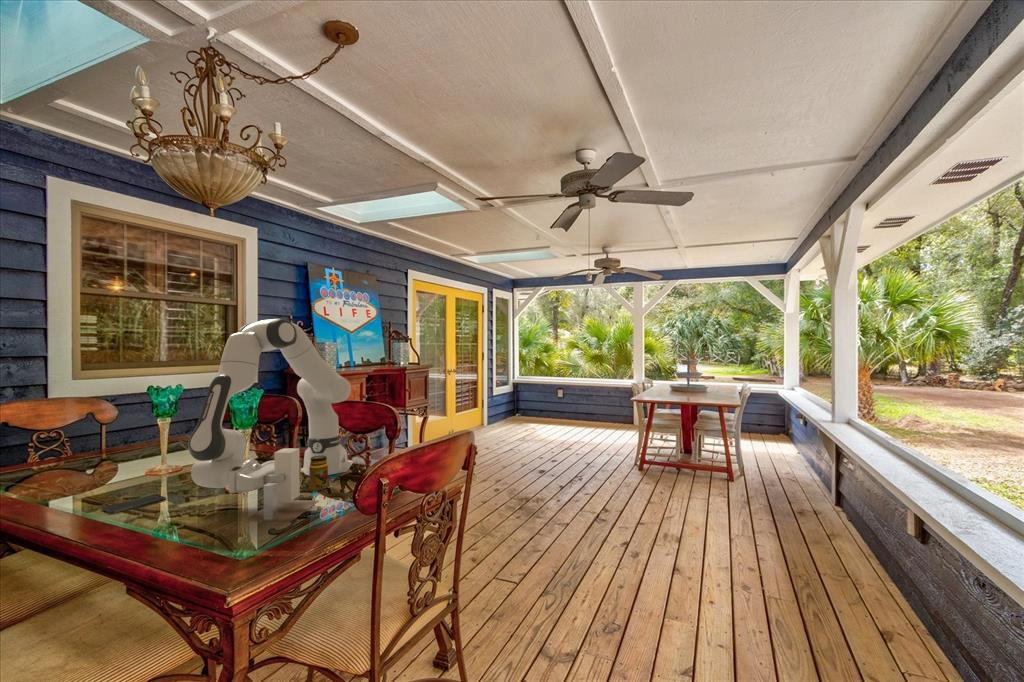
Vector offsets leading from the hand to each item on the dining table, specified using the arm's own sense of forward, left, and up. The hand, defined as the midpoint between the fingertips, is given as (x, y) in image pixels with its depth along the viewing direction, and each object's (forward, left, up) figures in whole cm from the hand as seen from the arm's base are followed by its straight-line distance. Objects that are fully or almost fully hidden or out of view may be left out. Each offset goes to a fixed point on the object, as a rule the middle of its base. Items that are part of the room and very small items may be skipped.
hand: (290, 474), depth 146 cm
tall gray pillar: (0, -1, -7) cm, 8 cm away
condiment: (-19, 0, -11) cm, 22 cm away
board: (+3, 0, -11) cm, 11 cm away
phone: (-3, -52, -12) cm, 54 cm away
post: (+10, 0, -10) cm, 14 cm away
